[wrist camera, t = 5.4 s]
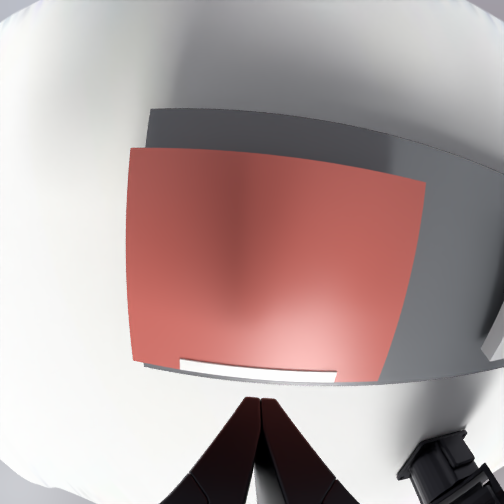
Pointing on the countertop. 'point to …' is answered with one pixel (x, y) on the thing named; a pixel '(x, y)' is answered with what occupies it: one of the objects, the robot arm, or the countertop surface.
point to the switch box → (429, 240)
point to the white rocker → (495, 339)
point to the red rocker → (266, 263)
